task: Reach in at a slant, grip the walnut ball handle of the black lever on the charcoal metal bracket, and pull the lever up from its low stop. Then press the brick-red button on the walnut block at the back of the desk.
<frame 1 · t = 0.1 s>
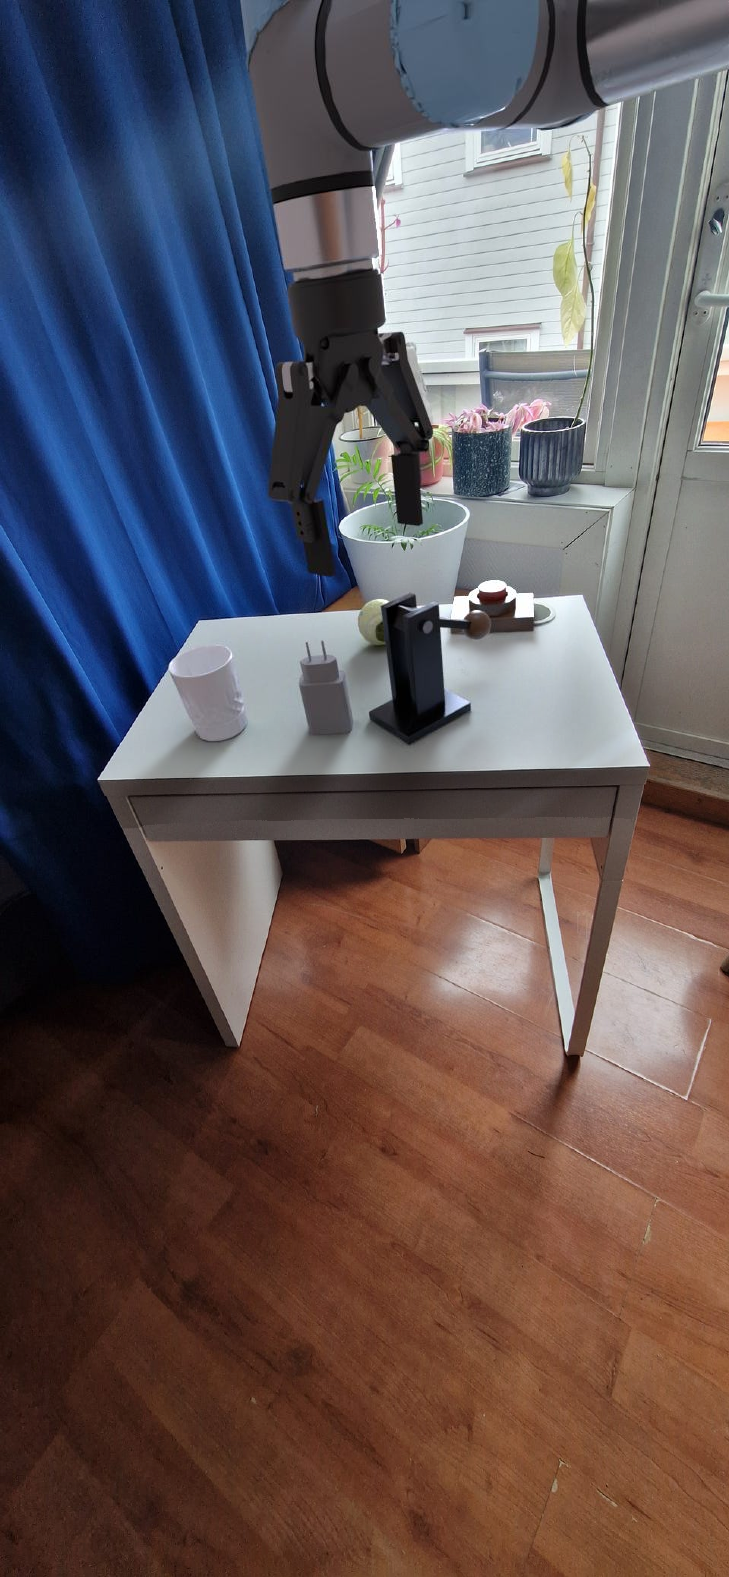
hand: (368, 547, 63), 23 cm above the table, tool pointing down, fingers open, 13 cm apart
button block: (492, 619, 99), on the table
tennis ball: (383, 643, 98), on the table
power adapter: (331, 728, 83), on the table
bracket: (419, 715, 82), on the table
lever: (446, 622, 77), point 11 cm above the table, hinge at -25.0°
white cup: (222, 728, 86), on the table
button: (492, 591, 96), point 4 cm above the table, slide at 0.1 cm
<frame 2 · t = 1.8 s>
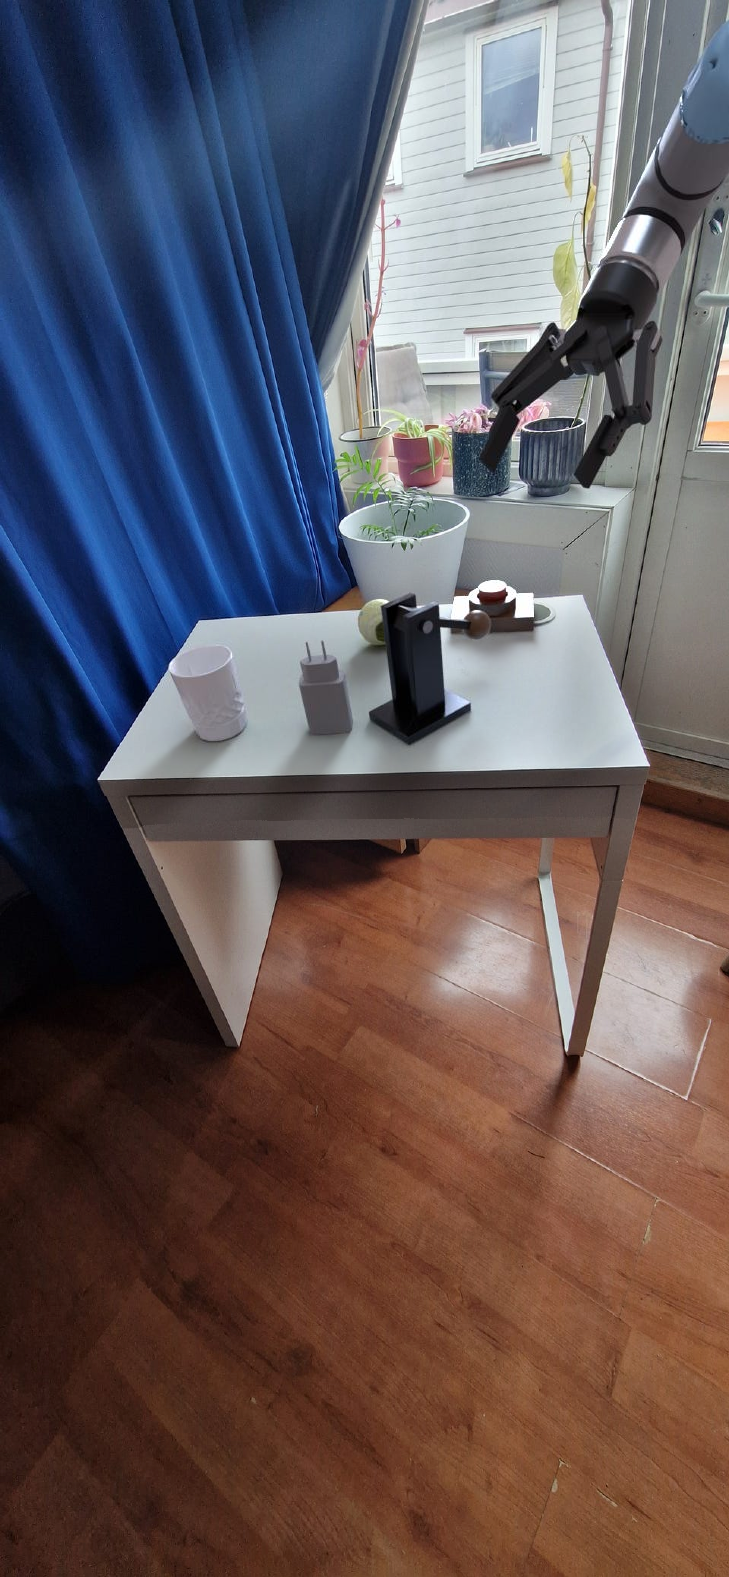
hand: (530, 473, 74), 24 cm above the table, tool tilted 45°, fingers open, 13 cm apart
nothing on the table moved.
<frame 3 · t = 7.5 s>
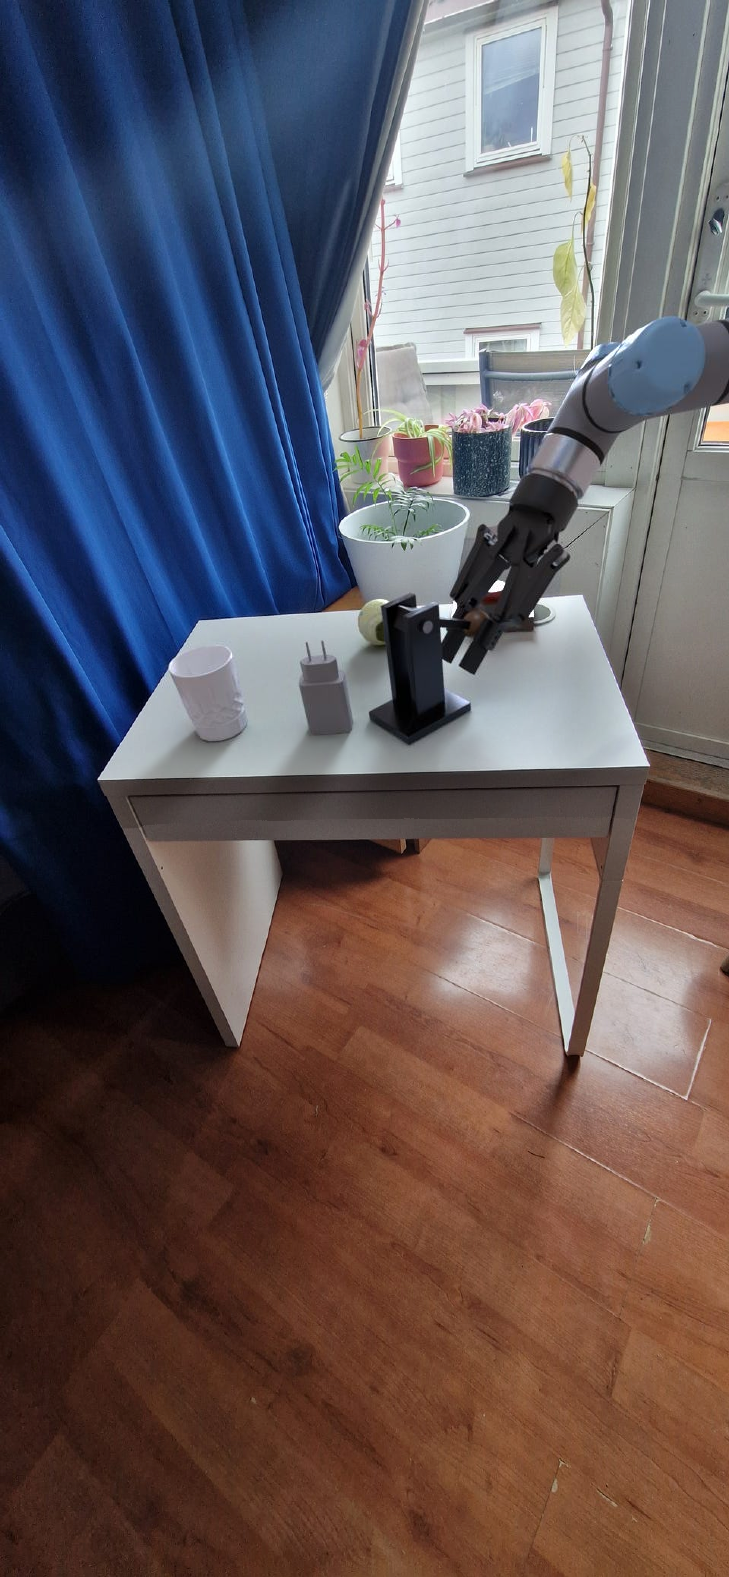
hand: (454, 664, 81), 5 cm above the table, tool tilted 45°, fingers closed on lever, 4 cm apart
lever: (446, 622, 77), point 11 cm above the table, hinge at -25.0°, touching gripper
everything else where it was.
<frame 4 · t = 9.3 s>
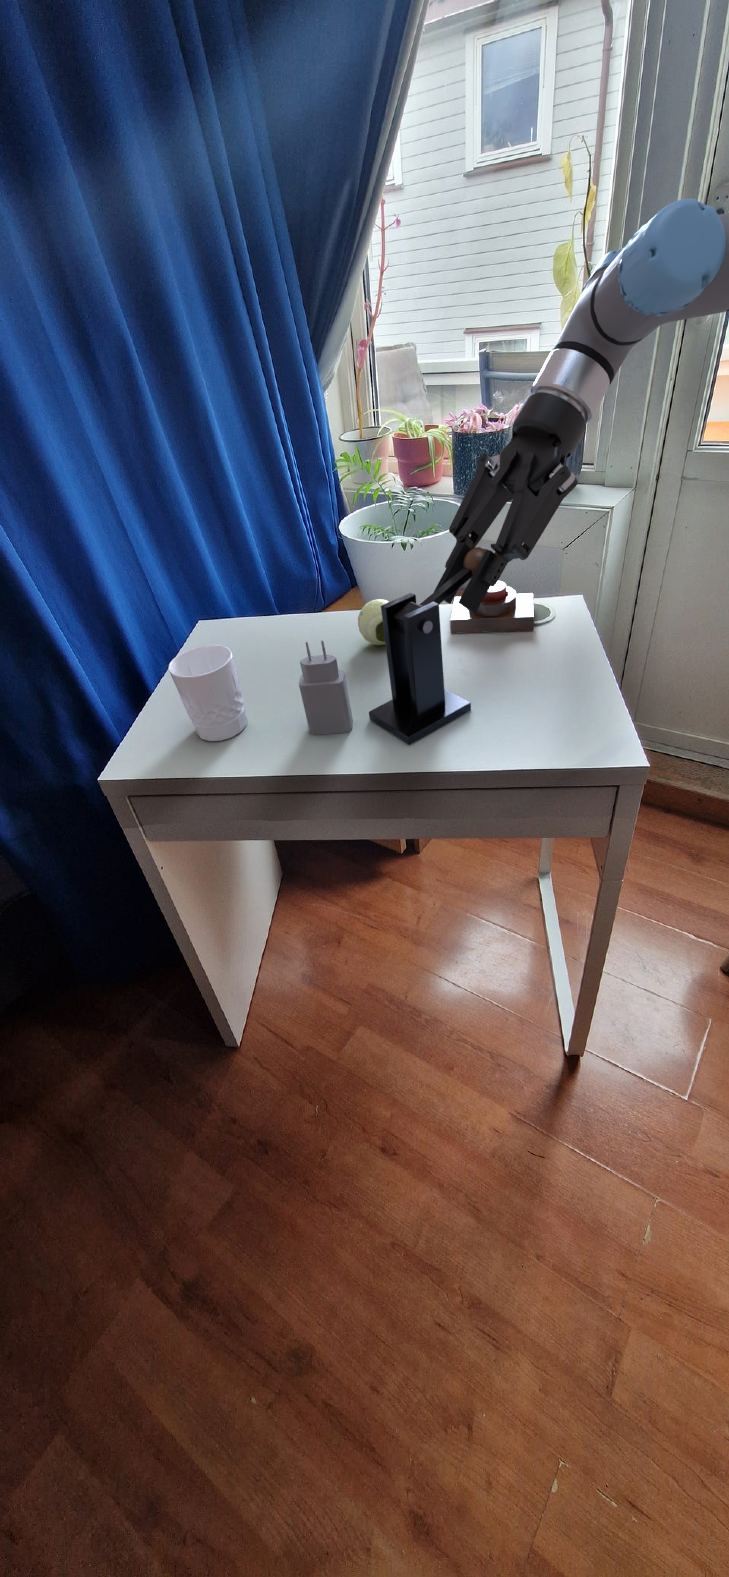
hand: (454, 602, 77), 13 cm above the table, tool tilted 45°, fingers closed on lever, 4 cm apart
lever: (446, 590, 75), point 15 cm above the table, hinge at 15.4°, touching gripper
everything else where it was.
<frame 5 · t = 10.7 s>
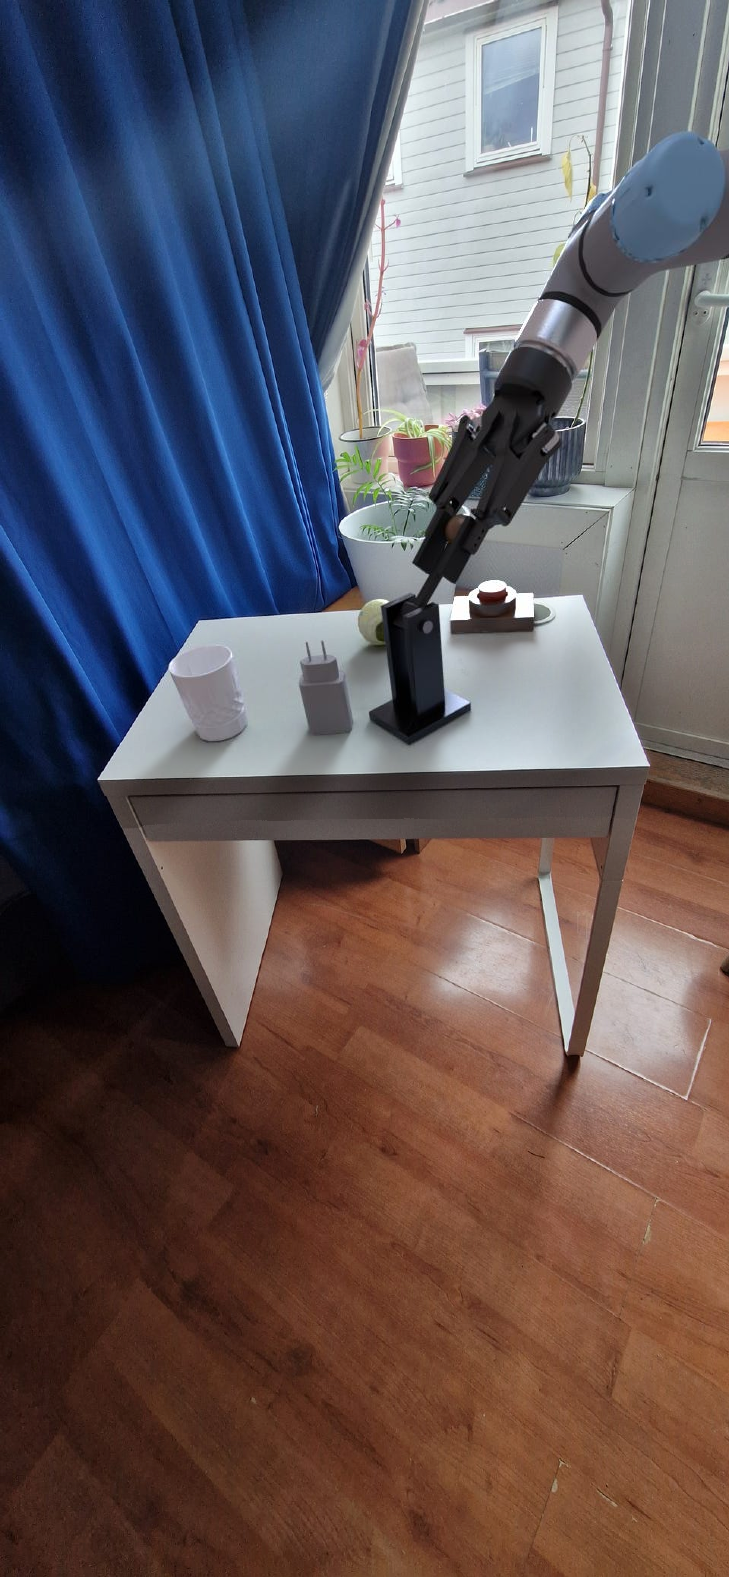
hand: (433, 573, 73), 17 cm above the table, tool tilted 45°, fingers closed on lever, 4 cm apart
lever: (436, 574, 73), point 17 cm above the table, hinge at 42.2°, touching gripper
everything else where it was.
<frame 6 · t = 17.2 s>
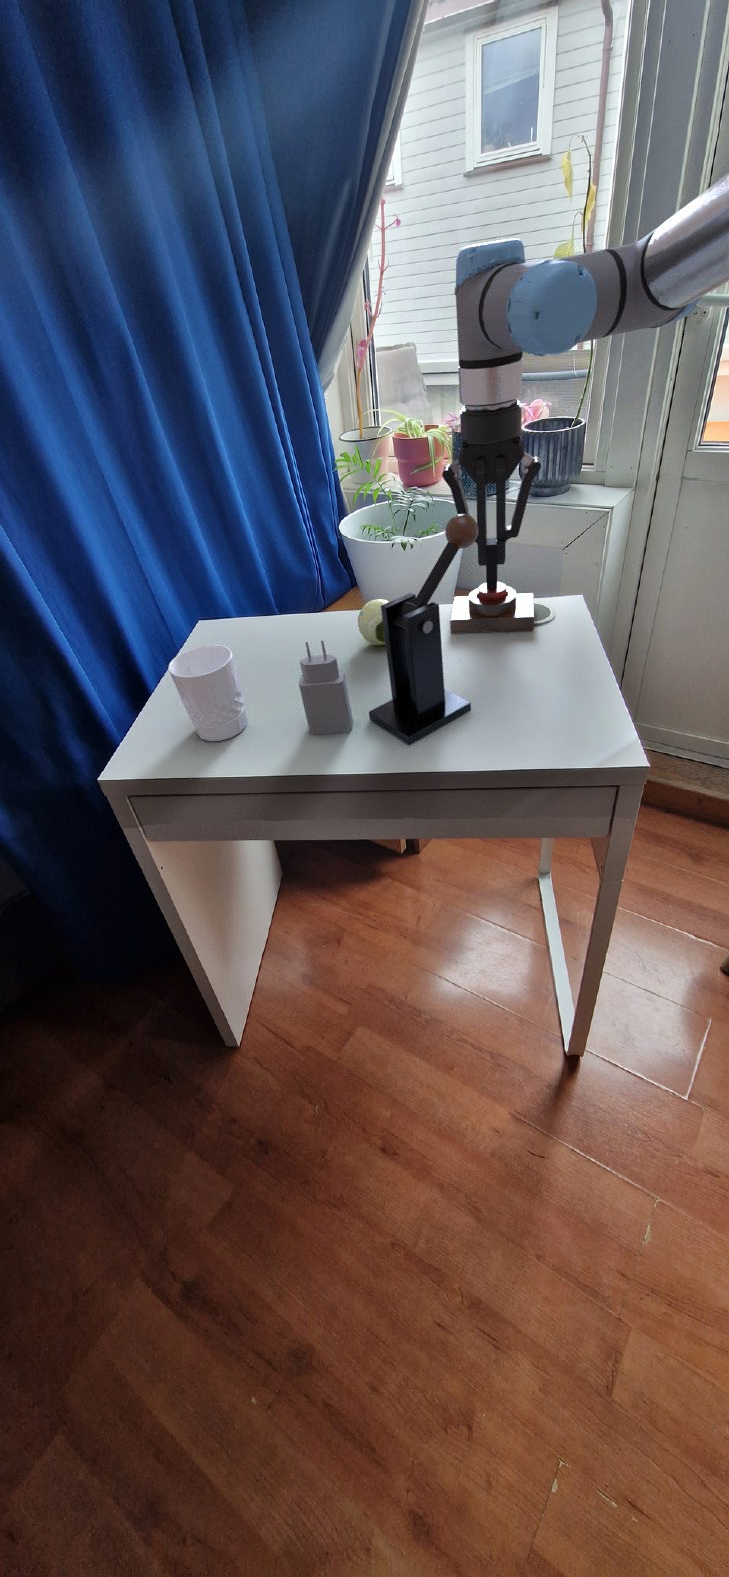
hand: (492, 585, 96), 5 cm above the table, tool pointing down, fingers closed
lever: (436, 574, 73), point 17 cm above the table, hinge at 42.1°
button: (492, 593, 96), point 4 cm above the table, slide at -0.1 cm, touching gripper
everything else where it was.
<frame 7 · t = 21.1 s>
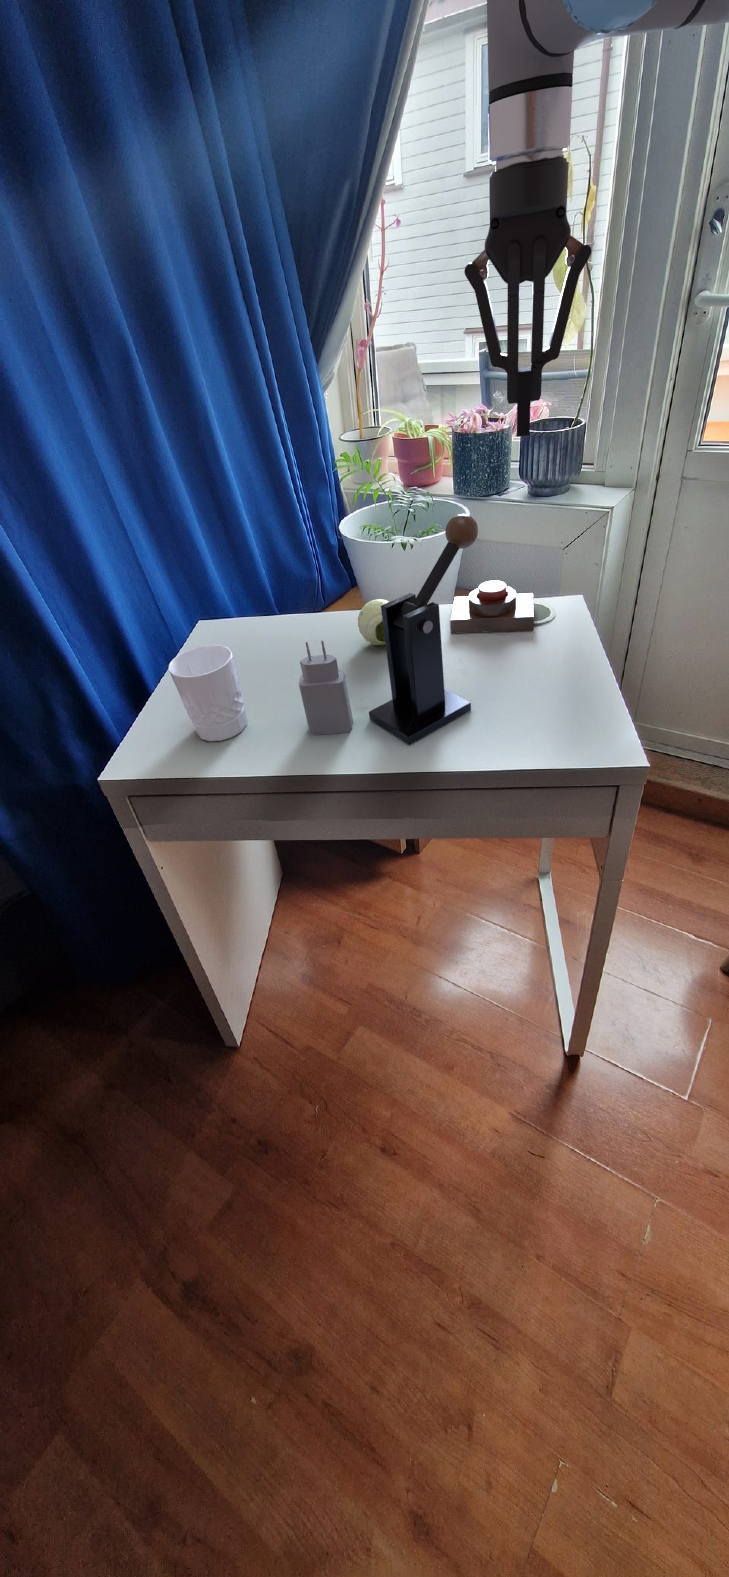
hand: (523, 433, 78), 26 cm above the table, tool pointing down, fingers closed
button: (492, 591, 96), point 4 cm above the table, slide at 0.1 cm
everything else where it was.
at the end: lever at +42° (first picture: -25°); button pushed in 1.0 cm at the most during the clip, back to where it started at the end; button slide at 0.1 cm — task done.
